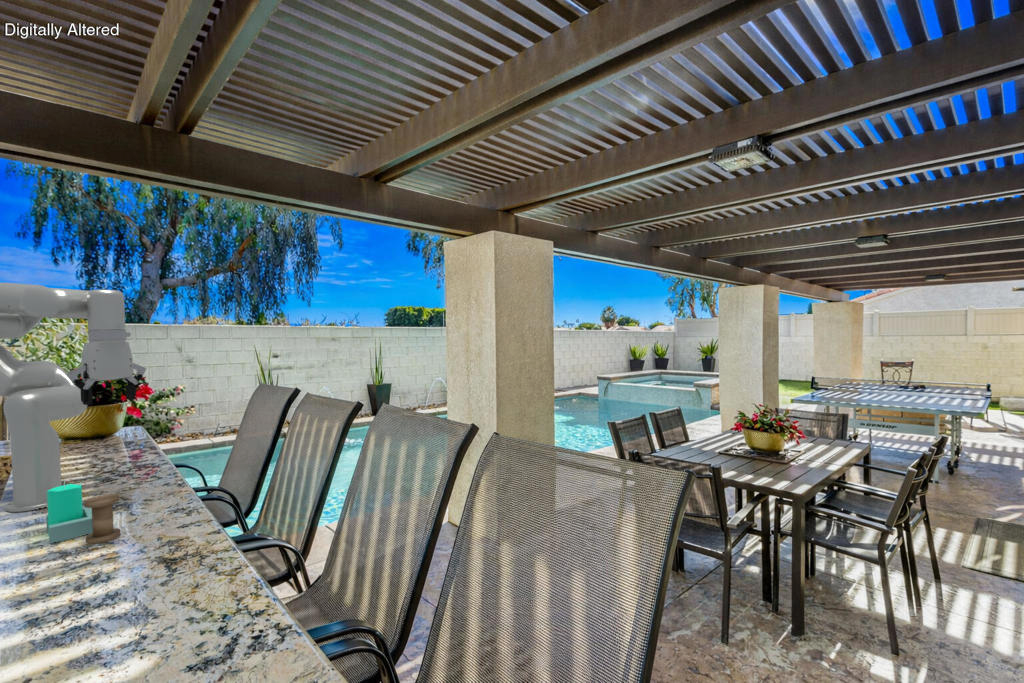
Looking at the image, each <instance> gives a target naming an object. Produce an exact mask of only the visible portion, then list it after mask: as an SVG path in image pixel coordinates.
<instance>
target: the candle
mask: <svg viewBox="0 0 1024 683" xmlns="http://www.w3.org/2000/svg"><path fill="white" fill-rule="evenodd" d="M82 487H83V485H82V484H76V483H75V484H74V483H68V484H66V481H65V480H64V481H63V485H61V486H59V487H55V488H52V489H50V490H48V491H47V503H48V507H47V514H48V526H49V525H53V524H58V523H62V522H67V521H71V520H76V519H80V518H83V507H84V503H83V488H82Z"/></svg>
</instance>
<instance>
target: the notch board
mask: <svg viewBox="0 0 1024 683" xmlns="http://www.w3.org/2000/svg"><path fill="white" fill-rule="evenodd" d="M45 520H46V532H47V531H48V538H49V540H48V541H49V544H50V543H51V544H55V543H54V542H56V543H59V541H60V542H64V541H68V540H72V539H75V537H76V538H79V537H78V536H81V537H83V536H82V535H85V536H87V535H86V534H91V533H93V530H92V508H86V507H84V506H83V518H80V519H76V520H71V521H67V522H62V523H58V524H53V525H49V526H48V513H47V514H45Z"/></svg>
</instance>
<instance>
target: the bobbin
mask: <svg viewBox="0 0 1024 683" xmlns="http://www.w3.org/2000/svg"><path fill="white" fill-rule="evenodd" d="M119 501H120V494H119V493H118V494H117V493H111V494H109V493H108V494H102V495H97V496H94V497H90V498H87V499H85V500H84V501H83V507H86V508H92V530H93V533H91V534H89V535H85V543H86V544H87V543H88V545H95V544H96V545H97V543H98V544H102V543H106V542H107V543H108V542H110V541H113V540H115V539H117V538H119V537H120V536H121V529H120V528H116V527H115V528H114V508H113V506H114V504H116V503H118V502H119Z"/></svg>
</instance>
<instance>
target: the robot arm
mask: <svg viewBox="0 0 1024 683" xmlns="http://www.w3.org/2000/svg"><path fill="white" fill-rule="evenodd" d="M125 313H126V312H125V296H124V293H123V292H122V291H120V290H117V289H116V290H115V289H92V290H83V289H72V288H71V289H70V288H59V287H58V288H57V287H55V288H54V287H47V286H45V285H42V284H30V283H29V284H26V283H16V282H0V340H1V339H2V340H6V339H8V340H9V339H18V338H22V337H24V336H25V335H27V334H28V333H29V332H30V331H31V330H33V328H34V327H36V326H37V324H38V323H39V322H40V321H42V319H44V318H49V319H53V318H54V319H85V320H87V329H88V330H87V334H88V335H87V336H88V338H87V340H88V342H84V343H83V347H82V353H81V361H80V366H79V367H76V368H75V369H72V370H70V371H69V372H66V370H65V369H63V368H62V366H60V365H59V364H56V363H55V362H52V361H46V360H38V361H37V360H34V361H22V360H19V359H18V358H16V357H15V356H14V355H13V354H12V353H11V352H10V351H9V350H8V349H6V347H3V346H2V345H0V397H3V398H6V399H5V401H4V403H3V413H4V417H5V420H6V423H7V428H8V431H9V437H10V438H9V441H10V454H11V456H10V457H11V475H12V476H11V477H12V478H11V479H12V497H13V498H12V499H13V501H10V502H8V503H7V504H6V505H5V506H4V510H5V511H6V512H10V513H18V512H19V513H21V512H29V511H36V510H40V509H39V508H41V509H45V508H44V507H46V508H48V507H47V506H48V503H47V491H48V490H50V489H52V488H55V487H59V486H62V473H61V472H62V469H61V468H62V467H61V466H62V465H61V445H60V444H61V443H60V436H59V434H58V432H57V431H56V429H55V428H54V427H53V426H52V425H51V424H50V422H55V421H60V420H67V419H71V418H75V417H78V416H80V415H82V414H83V413H84V412H85V411H86V410H87V408H88V406H91V405H93V403H94V402H93V401H94V400H93V399H94V398H93V389H91V387H92V385H94V383H95V382H99V381H100V382H101V381H103V382H105V381H113V380H123V381H125V383H126V384H125V386H124V388H125V389H124V390H125V399H126V400H128V401H129V400H132V401H133V400H136V396H137V385H138V384H139V382H140V381H141V380H142V378H143V376H144V375H145V373H146V370H147V368H146V367H145V366H142V365H140V364H137V363H134V361H133V353H132V348H131V346H130V343H129V341H126V340H127V338H131V337H132V334H131V332H127V330H126V314H125ZM134 370H136V374H135V375H134ZM79 375H80V377H81V379H79V377H78V376H79ZM35 509H36V510H35Z"/></svg>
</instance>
